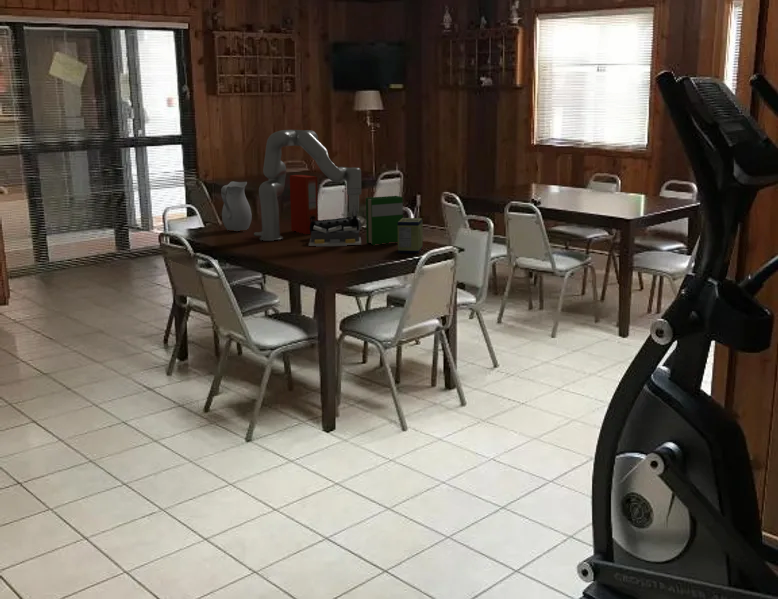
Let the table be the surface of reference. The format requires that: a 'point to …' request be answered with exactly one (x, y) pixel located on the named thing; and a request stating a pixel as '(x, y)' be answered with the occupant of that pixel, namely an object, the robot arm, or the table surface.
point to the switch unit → (335, 238)
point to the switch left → (319, 229)
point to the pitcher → (235, 207)
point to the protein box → (410, 235)
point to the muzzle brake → (335, 223)
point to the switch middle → (334, 228)
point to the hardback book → (383, 219)
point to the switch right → (350, 228)
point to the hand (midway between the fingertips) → (354, 226)
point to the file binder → (303, 202)
